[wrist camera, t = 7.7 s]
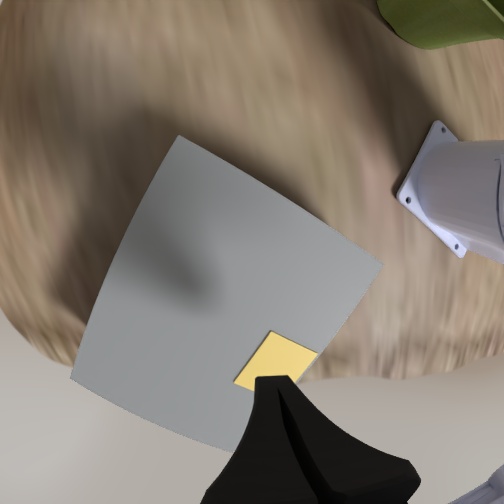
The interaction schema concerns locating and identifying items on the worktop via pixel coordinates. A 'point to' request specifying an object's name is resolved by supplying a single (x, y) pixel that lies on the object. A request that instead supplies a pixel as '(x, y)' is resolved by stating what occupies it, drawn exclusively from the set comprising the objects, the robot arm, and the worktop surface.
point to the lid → (215, 298)
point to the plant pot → (444, 21)
